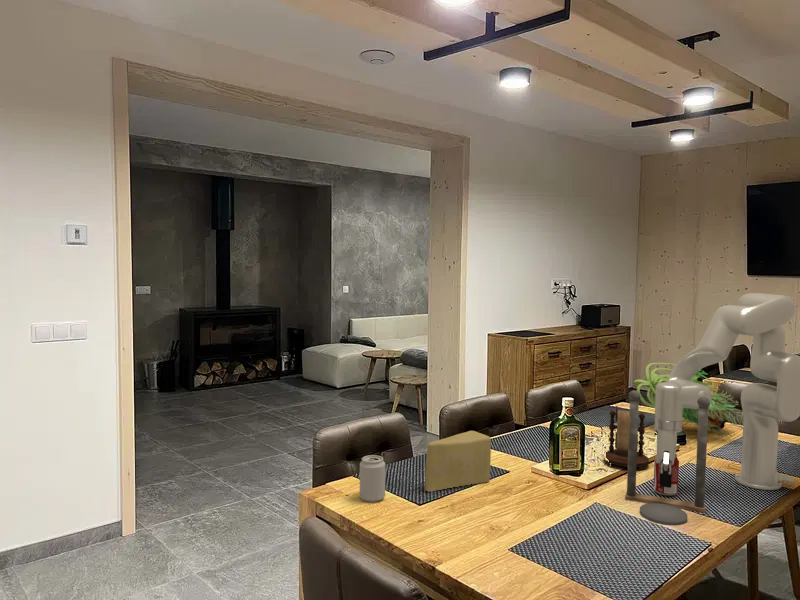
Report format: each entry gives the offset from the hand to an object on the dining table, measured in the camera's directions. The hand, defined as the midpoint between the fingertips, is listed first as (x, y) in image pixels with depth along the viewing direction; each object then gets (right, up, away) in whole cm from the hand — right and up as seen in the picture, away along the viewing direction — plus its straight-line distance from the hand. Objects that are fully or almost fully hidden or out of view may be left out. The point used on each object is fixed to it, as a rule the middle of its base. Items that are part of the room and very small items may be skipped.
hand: (665, 481), depth 182 cm
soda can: (0, -4, 0) cm, 4 cm away
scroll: (-2, -2, +26) cm, 26 cm away
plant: (+38, 0, +62) cm, 73 cm away
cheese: (-63, -3, +5) cm, 63 cm away
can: (-88, -3, -5) cm, 88 cm away
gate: (-4, -4, -8) cm, 10 cm away
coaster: (-8, -4, -16) cm, 18 cm away
